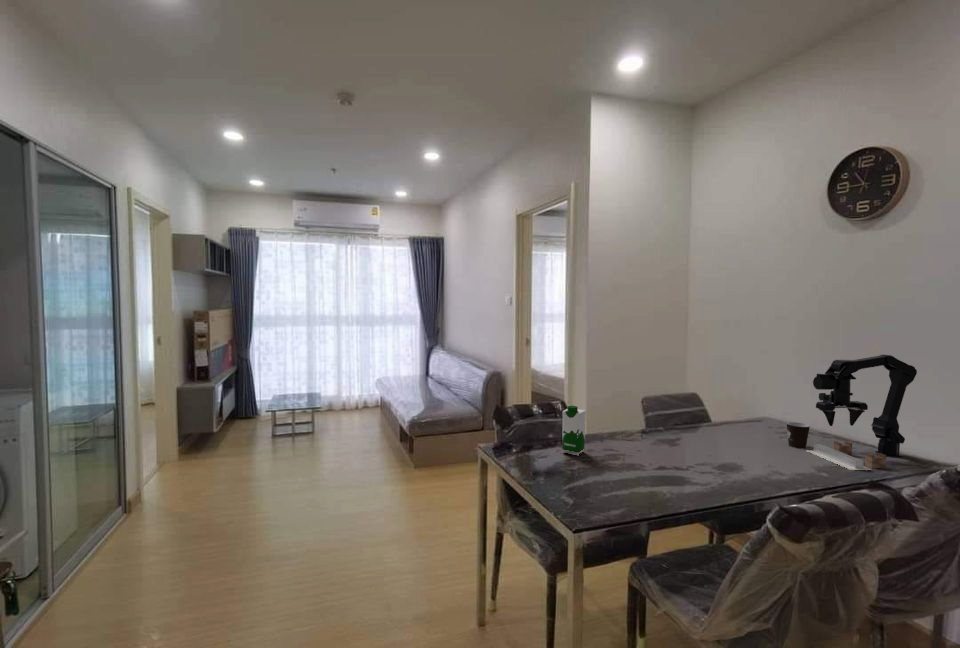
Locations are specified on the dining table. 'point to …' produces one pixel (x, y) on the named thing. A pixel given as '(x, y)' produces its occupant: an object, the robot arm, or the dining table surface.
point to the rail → (838, 456)
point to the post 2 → (875, 460)
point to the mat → (836, 461)
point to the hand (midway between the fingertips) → (841, 425)
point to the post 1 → (843, 447)
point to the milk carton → (573, 429)
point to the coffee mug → (797, 434)
